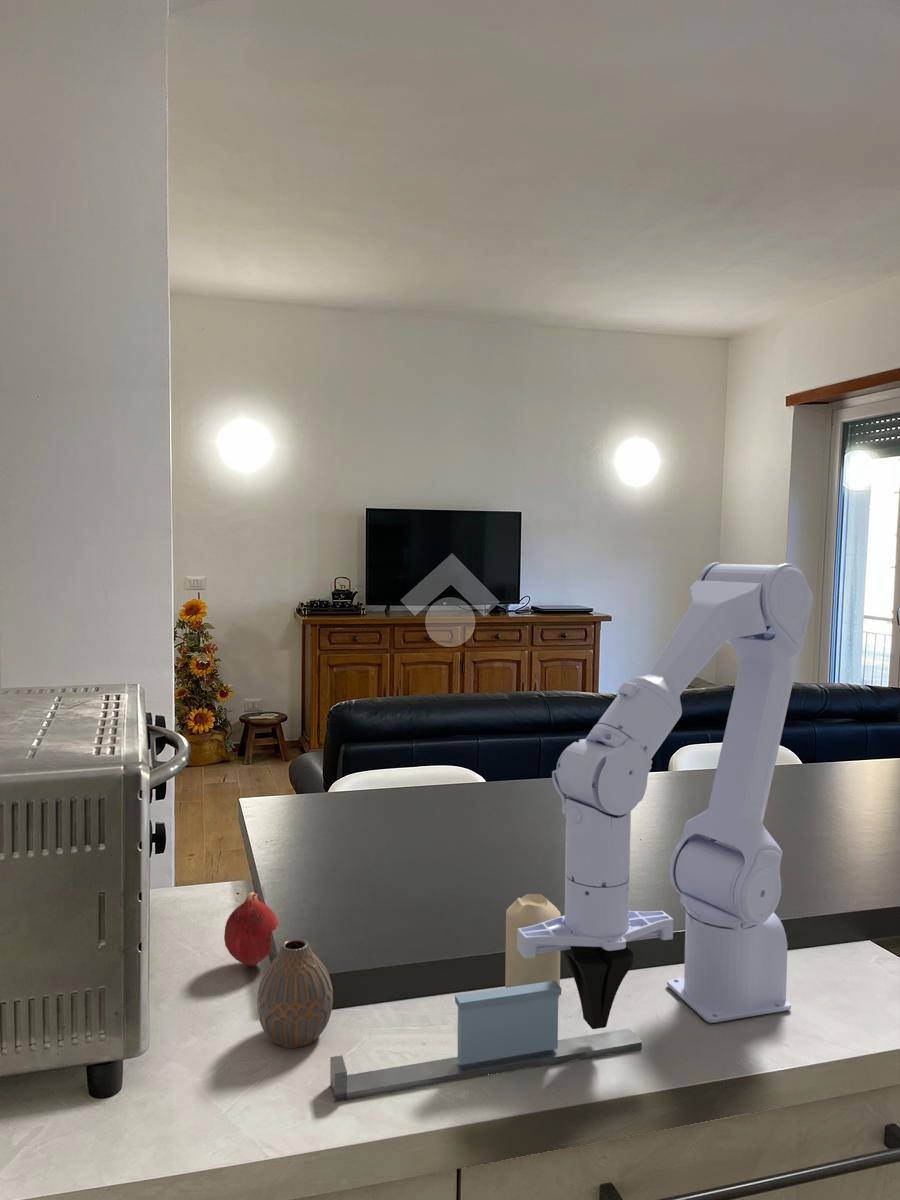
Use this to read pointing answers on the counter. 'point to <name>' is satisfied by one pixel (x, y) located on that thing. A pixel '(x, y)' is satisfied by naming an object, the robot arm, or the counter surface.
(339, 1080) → the rail
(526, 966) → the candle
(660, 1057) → the counter surface
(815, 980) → the counter surface
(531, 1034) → the panel
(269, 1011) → the vase
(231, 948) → the onion
